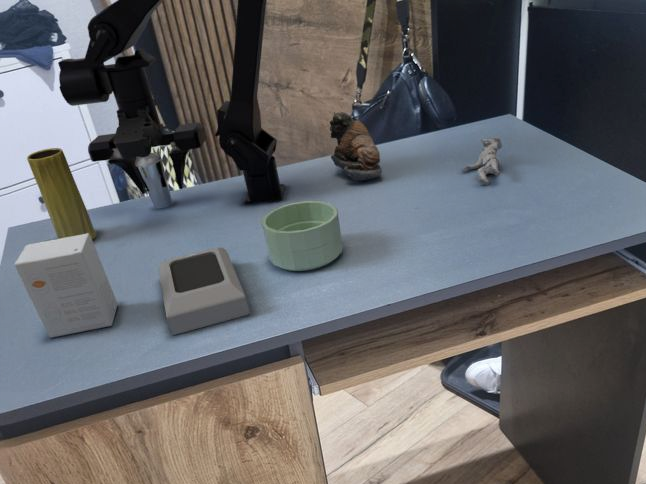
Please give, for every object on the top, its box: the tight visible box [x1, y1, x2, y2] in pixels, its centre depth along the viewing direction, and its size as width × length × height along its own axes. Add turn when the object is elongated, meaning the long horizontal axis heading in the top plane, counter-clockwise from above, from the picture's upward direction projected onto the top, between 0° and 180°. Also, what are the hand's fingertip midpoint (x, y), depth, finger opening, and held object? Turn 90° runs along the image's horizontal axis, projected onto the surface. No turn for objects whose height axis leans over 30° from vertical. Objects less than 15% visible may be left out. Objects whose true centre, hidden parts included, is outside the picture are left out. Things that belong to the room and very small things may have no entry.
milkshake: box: [135, 146, 173, 210], centre depth 110 cm, size 5×5×10 cm
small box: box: [13, 233, 119, 339], centre depth 79 cm, size 8×6×10 cm
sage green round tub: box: [261, 200, 343, 272], centre depth 88 cm, size 10×10×6 cm
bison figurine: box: [329, 111, 383, 182], centre depth 111 cm, size 12×7×10 cm, turn 28°
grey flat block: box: [157, 247, 251, 336], centre depth 82 cm, size 10×4×15 cm
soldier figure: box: [462, 136, 503, 186], centre depth 106 cm, size 8×5×12 cm
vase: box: [26, 147, 98, 241], centre depth 101 cm, size 6×6×14 cm
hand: (162, 191), depth 112 cm, fingers open, 6 cm apart
